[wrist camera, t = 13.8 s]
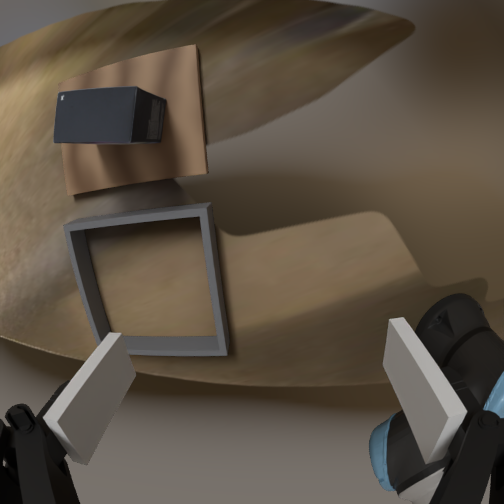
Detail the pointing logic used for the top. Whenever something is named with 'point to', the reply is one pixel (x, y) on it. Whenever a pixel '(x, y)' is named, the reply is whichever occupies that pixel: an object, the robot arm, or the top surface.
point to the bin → (93, 300)
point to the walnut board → (174, 127)
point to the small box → (109, 116)
